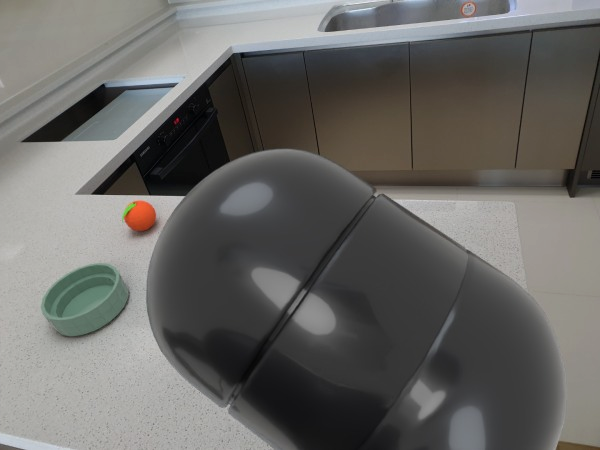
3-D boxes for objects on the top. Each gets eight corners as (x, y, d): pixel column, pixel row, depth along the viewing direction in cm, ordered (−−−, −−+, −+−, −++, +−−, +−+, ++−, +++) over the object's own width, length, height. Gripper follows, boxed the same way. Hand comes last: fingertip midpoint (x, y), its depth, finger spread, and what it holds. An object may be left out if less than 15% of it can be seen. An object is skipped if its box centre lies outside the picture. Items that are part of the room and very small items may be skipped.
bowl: (80, 350, 79) (66, 331, 76) (41, 320, 87) (27, 302, 84) (144, 295, 87) (134, 276, 84) (103, 272, 95) (92, 254, 92)
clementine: (141, 243, 101) (128, 217, 97) (121, 236, 105) (107, 211, 101) (166, 221, 106) (155, 196, 102) (147, 216, 110) (135, 191, 105)
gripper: (236, 384, 28) (270, 349, 44) (465, 342, 28) (416, 321, 44) (216, 265, 29) (257, 272, 46) (437, 222, 29) (399, 244, 45)
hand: (335, 296), depth 45 cm, fingers open, 8 cm apart
